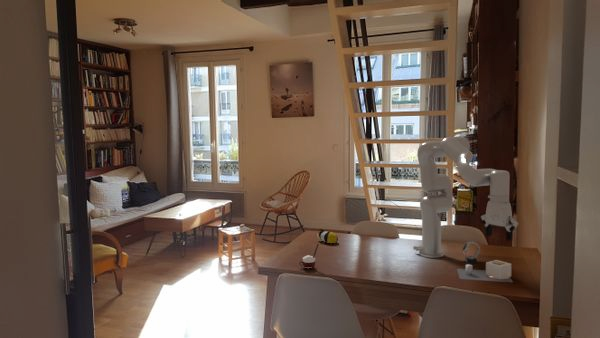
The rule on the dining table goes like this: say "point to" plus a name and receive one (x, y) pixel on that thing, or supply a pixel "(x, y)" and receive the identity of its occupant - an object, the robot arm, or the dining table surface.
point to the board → (477, 275)
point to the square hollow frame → (498, 269)
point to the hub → (496, 278)
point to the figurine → (327, 236)
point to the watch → (470, 258)
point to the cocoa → (309, 260)
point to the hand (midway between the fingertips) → (498, 238)
